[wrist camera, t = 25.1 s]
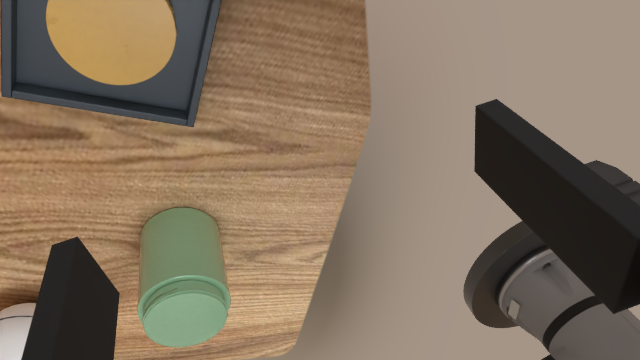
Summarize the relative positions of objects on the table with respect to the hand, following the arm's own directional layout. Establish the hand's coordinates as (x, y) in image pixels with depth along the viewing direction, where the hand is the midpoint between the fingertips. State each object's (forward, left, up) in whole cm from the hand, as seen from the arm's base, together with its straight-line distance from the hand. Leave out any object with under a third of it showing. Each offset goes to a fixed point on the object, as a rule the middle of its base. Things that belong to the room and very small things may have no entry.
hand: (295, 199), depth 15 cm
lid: (+7, +3, -23) cm, 24 cm away
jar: (-1, +23, -25) cm, 34 cm away
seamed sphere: (+13, +34, -25) cm, 44 cm away
